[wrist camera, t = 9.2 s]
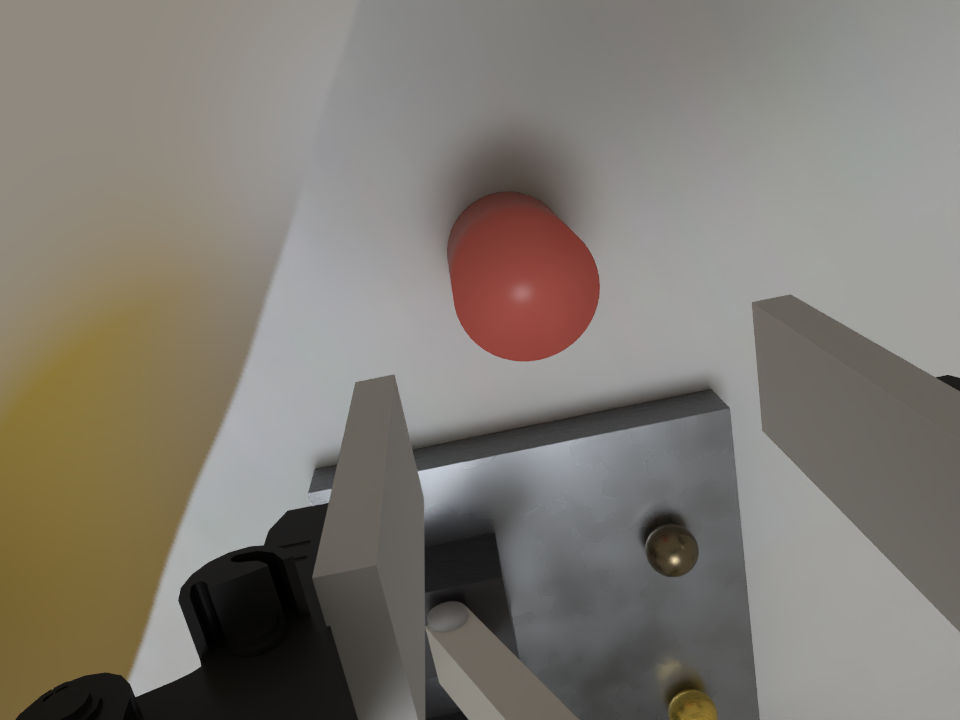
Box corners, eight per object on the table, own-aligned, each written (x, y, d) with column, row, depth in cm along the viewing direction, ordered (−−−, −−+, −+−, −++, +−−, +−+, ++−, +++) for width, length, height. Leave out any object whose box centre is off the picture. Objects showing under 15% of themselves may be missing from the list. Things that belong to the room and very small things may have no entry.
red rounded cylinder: (436, 205, 29) (439, 234, 24) (556, 180, 29) (588, 204, 24) (460, 320, 31) (468, 373, 25) (574, 297, 31) (608, 345, 25)
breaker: (417, 614, 28) (554, 771, 21) (458, 594, 29) (604, 739, 22) (434, 679, 29) (570, 851, 22) (473, 659, 30) (617, 819, 23)
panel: (314, 469, 32) (296, 535, 28) (711, 389, 32) (761, 441, 28) (437, 902, 40) (440, 1011, 35) (757, 837, 40) (802, 938, 36)
